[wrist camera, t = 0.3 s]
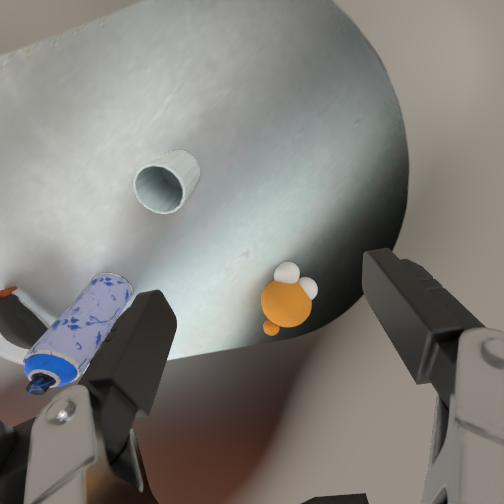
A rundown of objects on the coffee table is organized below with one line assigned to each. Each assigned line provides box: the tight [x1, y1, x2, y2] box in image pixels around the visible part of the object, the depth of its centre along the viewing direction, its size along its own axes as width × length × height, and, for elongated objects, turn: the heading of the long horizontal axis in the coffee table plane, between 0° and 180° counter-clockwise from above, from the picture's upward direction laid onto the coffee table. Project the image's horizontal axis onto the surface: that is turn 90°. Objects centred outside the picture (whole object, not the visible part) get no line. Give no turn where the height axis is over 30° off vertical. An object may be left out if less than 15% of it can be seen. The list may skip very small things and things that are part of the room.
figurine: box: [0, 286, 50, 349], centre depth 47 cm, size 7×10×15 cm
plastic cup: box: [133, 150, 200, 214], centre depth 31 cm, size 6×6×10 cm
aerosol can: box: [23, 273, 133, 395], centre depth 38 cm, size 8×8×20 cm
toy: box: [261, 262, 318, 335], centre depth 45 cm, size 9×10×15 cm
